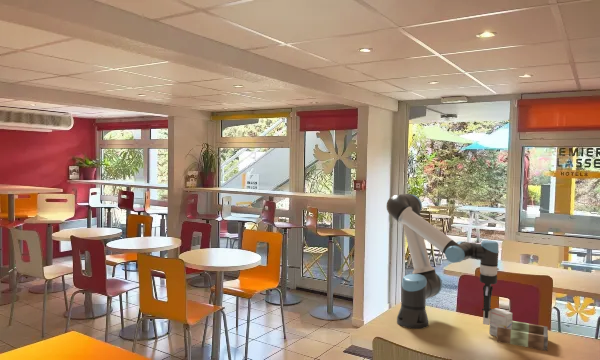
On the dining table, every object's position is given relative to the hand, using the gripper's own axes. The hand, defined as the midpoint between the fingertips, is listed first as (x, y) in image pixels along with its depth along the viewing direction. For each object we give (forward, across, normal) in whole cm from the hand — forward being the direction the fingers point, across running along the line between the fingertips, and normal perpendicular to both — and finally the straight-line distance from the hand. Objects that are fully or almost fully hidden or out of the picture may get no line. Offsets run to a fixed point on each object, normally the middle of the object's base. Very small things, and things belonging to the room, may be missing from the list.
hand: (486, 324), depth 216 cm
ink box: (+5, 0, -6) cm, 8 cm away
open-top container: (+5, 0, -15) cm, 16 cm away
